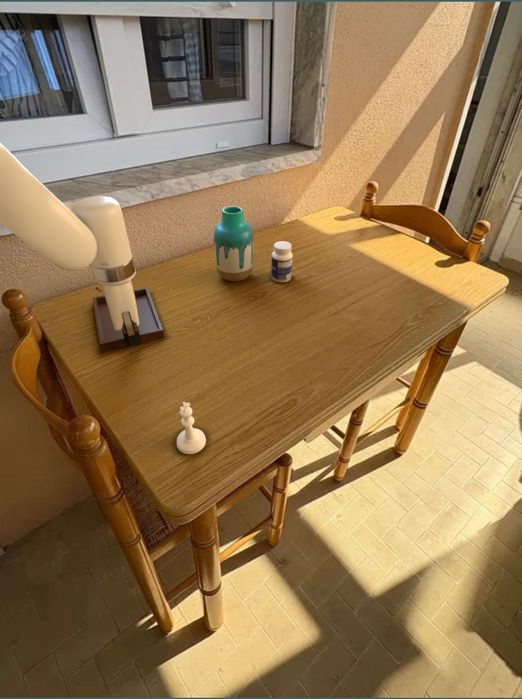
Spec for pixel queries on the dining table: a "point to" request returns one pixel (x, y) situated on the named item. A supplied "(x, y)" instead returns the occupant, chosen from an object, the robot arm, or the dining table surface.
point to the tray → (115, 339)
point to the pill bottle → (281, 262)
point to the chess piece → (189, 433)
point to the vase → (233, 245)
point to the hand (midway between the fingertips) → (134, 343)
